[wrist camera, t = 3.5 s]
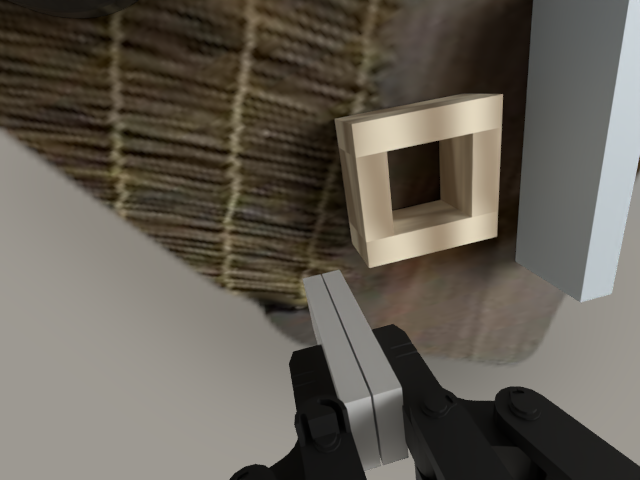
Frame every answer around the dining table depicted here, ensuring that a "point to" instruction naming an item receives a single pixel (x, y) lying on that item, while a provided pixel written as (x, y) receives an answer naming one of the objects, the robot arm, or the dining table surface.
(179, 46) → the dining table surface
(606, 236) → the wall
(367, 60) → the dining table surface
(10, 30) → the dining table surface
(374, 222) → the square wooden frame
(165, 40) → the dining table surface
